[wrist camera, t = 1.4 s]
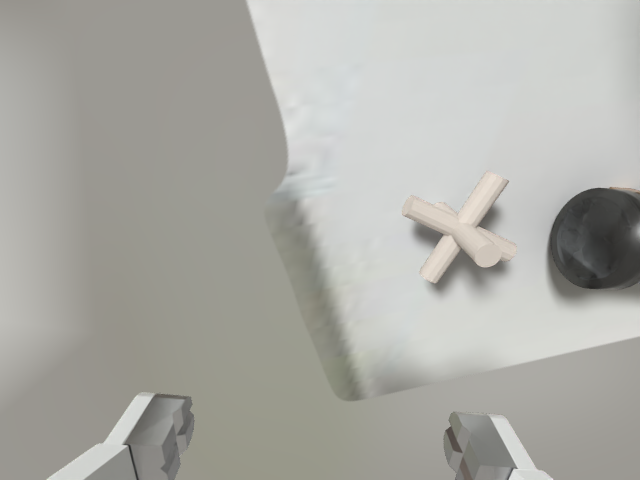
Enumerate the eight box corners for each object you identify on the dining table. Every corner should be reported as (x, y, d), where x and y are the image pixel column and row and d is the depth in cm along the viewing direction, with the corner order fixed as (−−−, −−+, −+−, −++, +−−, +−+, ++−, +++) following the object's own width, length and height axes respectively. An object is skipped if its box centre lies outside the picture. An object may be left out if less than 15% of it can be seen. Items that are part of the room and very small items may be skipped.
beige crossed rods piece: (513, 186, 29) (597, 222, 20) (453, 269, 33) (502, 332, 24) (423, 141, 28) (470, 157, 19) (370, 233, 32) (389, 285, 22)
